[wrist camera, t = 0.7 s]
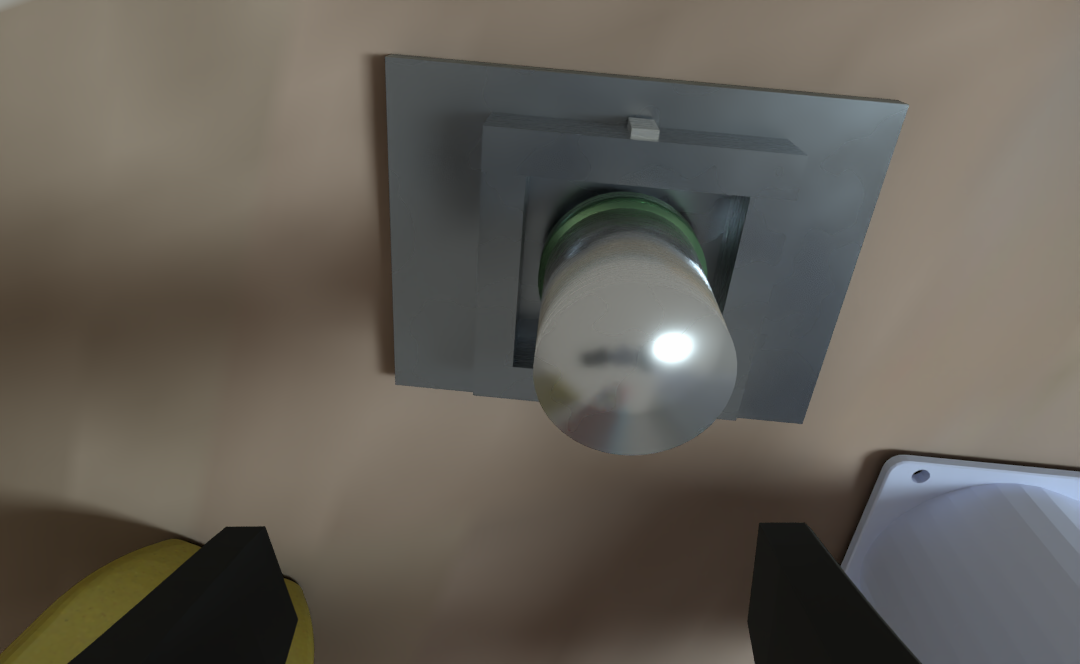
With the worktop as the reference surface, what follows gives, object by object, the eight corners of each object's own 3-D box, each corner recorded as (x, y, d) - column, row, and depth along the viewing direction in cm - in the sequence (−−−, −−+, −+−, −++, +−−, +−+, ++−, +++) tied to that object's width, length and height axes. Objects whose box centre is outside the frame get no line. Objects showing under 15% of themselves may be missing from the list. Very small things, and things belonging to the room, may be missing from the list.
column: (713, 193, 16) (769, 287, 11) (682, 338, 18) (719, 470, 13) (547, 178, 16) (533, 265, 11) (534, 324, 18) (518, 451, 13)
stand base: (897, 100, 16) (943, 118, 14) (796, 411, 20) (819, 459, 18) (391, 54, 16) (365, 65, 14) (400, 373, 20) (380, 416, 18)
